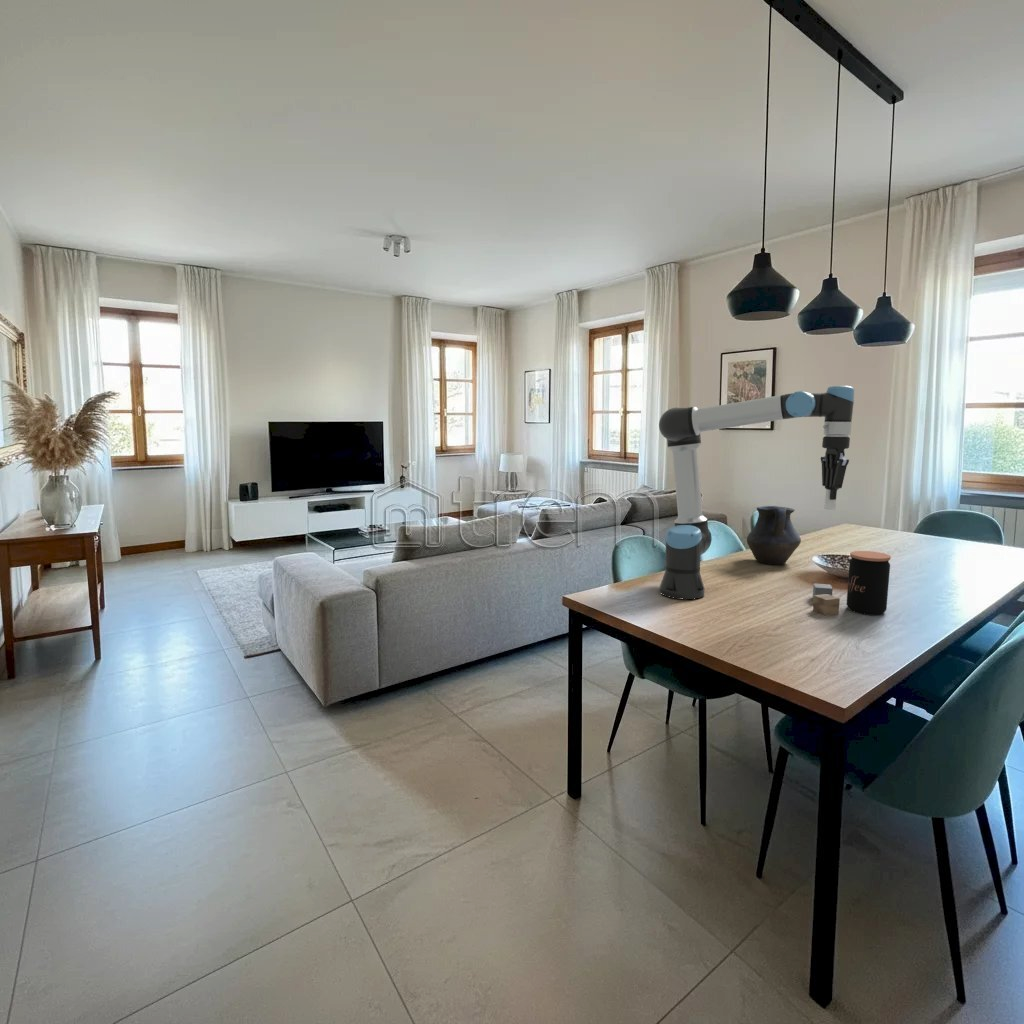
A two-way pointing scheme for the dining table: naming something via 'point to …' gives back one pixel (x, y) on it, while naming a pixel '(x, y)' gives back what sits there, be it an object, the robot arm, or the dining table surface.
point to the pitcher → (773, 535)
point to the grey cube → (822, 589)
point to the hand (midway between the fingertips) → (829, 509)
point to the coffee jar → (868, 582)
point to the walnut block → (826, 604)
